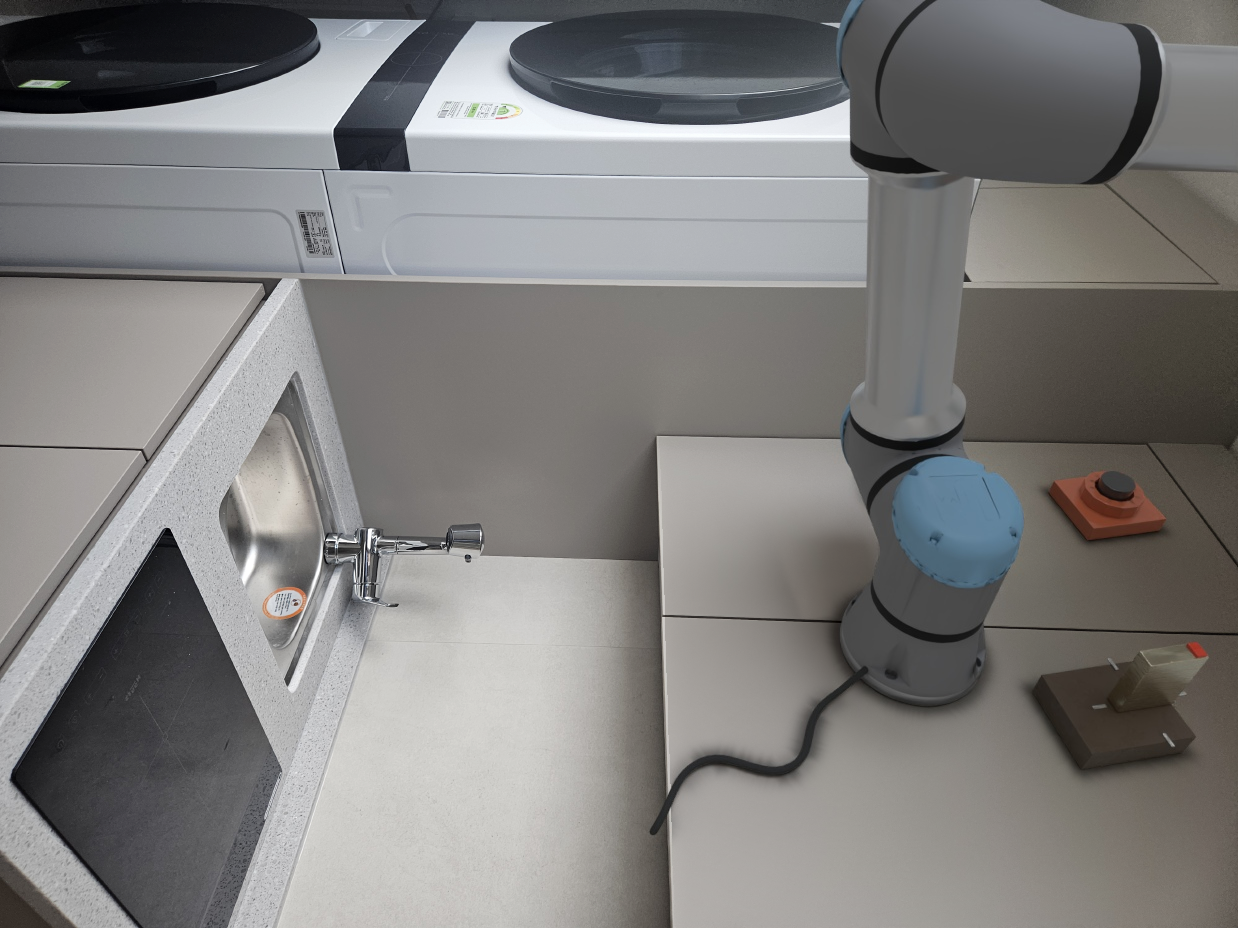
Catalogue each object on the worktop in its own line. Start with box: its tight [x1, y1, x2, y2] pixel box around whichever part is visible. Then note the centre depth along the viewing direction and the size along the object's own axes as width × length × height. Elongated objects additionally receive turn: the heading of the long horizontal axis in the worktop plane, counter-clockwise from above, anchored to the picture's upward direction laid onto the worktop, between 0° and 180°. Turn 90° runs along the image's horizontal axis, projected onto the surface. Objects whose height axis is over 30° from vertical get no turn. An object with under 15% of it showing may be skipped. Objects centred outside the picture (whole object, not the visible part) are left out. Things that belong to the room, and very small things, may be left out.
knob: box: [1107, 641, 1210, 712], centre depth 79 cm, size 6×2×8 cm, turn 99°
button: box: [1096, 470, 1136, 502], centre depth 103 cm, size 4×4×2 cm
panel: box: [1032, 657, 1197, 770], centre depth 82 cm, size 13×10×3 cm
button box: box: [1048, 470, 1167, 541], centre depth 104 cm, size 10×9×4 cm
